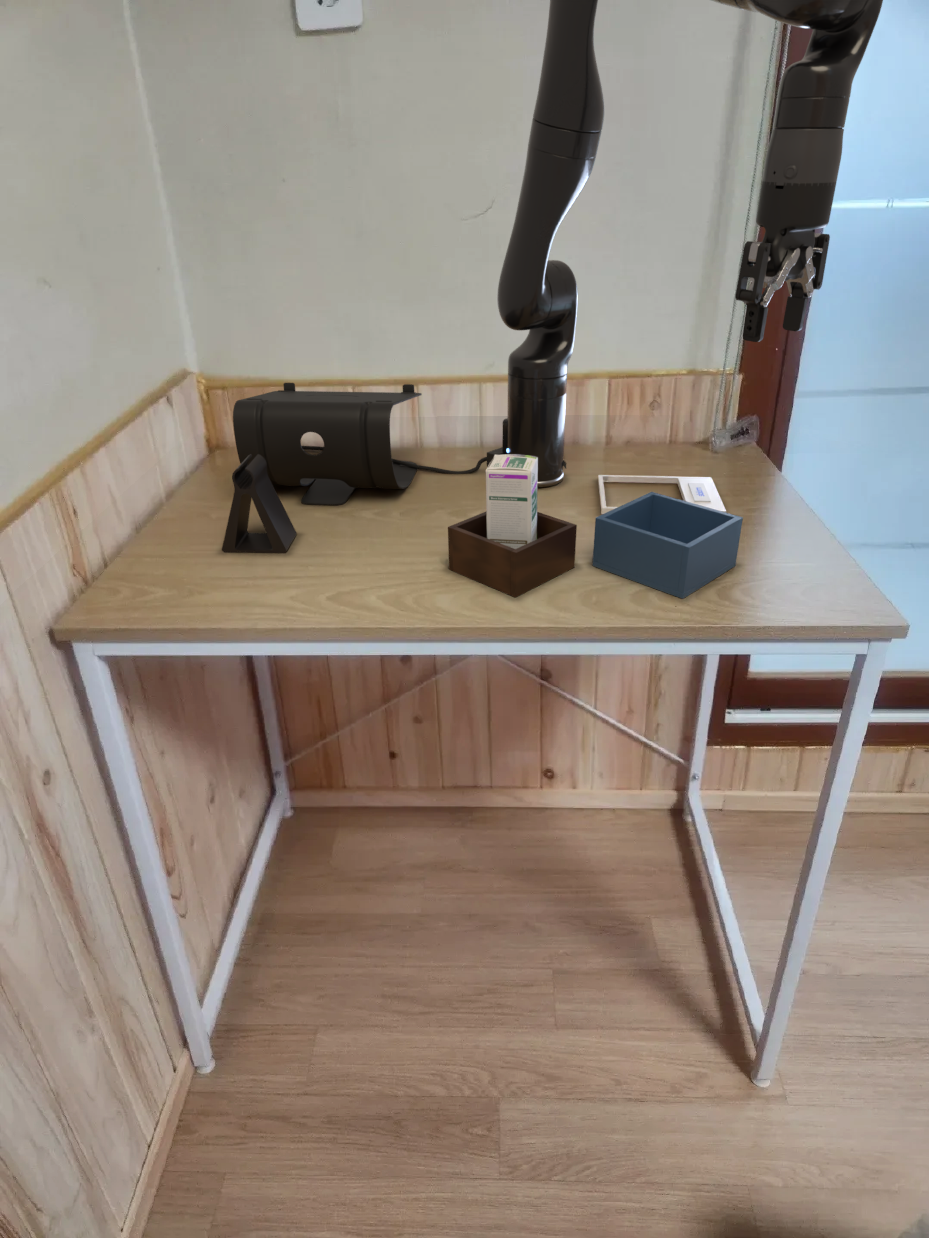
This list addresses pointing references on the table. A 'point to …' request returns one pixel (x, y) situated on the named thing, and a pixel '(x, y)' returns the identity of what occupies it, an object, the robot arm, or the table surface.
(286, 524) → the phone stand
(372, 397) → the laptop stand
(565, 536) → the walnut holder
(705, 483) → the photo frame
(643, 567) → the blue tote
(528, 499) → the syrup box
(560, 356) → the robot arm
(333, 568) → the table surface
